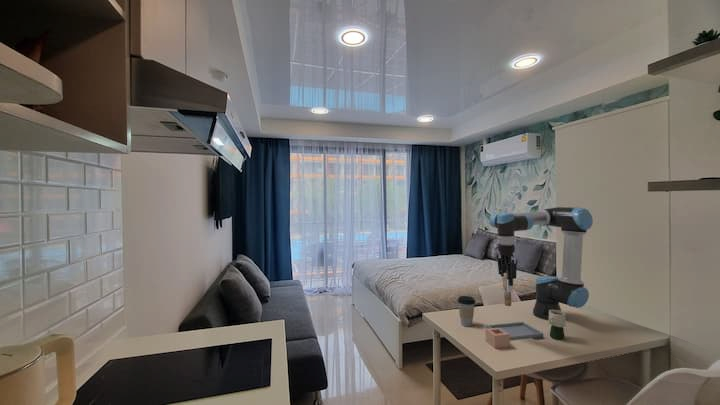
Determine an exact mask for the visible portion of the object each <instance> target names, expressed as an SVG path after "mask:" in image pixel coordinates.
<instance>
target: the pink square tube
mask: <svg viewBox="0 0 720 405" xmlns="http://www.w3.org/2000/svg"><path fill="white" fill-rule="evenodd" d="M485 342H486V343H488V344H489V345H490V346H491V347H493V349H494V350H495V349H503V348H510V347H511V345H510V343H511V341H510V334H508V333H507V332H506V331H504V330H503V329H501V328H490V329H487V328H485Z"/></svg>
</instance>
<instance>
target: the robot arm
mask: <svg viewBox="0 0 720 405" xmlns="http://www.w3.org/2000/svg"><path fill="white" fill-rule="evenodd" d="M489 217H490V218H489V225H490V226H491V227H492V228H495V229H497V243H498V244H497V251H498V252H499V254H496V259H497V260H496V261H497V270H498V274H499V275H500V276H501V282H502V283H501V284H502V290H503V291H504V273H507V275H508V278H507V292H511V293H512V292H514V280H515V279H517V269H518V268H517V267H518V266H517V265H518V259H517V258H514V253H515V251H516V250H515V249H516V248H515V247H516V246H515V243H516V242H515V232H519V231H520V232H521V231H528V230H531V229H532V228H533V226H542V227H545V226H546V227H547V226H548V227H549V226H550V227H556V228H560V231H561V233H562V234H563V246H562V248H563V250H562V251H563V252H562V267H561V268H562V270H561V277H557V276H552V275H542V276H538V277H536V280H535V304H534V306H533V309H532V315H534V316H535V317H537V318H540V319H544V320H547V321H549V310H559V311H562V308H561V306H560V304H563V305H567V306H569V307H573V308H576V309H578V308H580V309H581V308H582V307H584V306H585V305H586V304H587V302H588V301H589V297H590V292H589V290H588V288H586V287H585V286H584V285H585V282H584V281H583V280H582V263H583V262H582V259H583V258H582V257H583V242H584V235H586V234H587V232H588V231H587V230H590V229H591V228H592V226H593V221H594V220H593V216H592V214H591V212H590V211H589V210H588V209H586V208H585V207H577V206H576V207H570V206H569V207H566V206H564V207H563V206H562V207H559V206H557V207H550V208H545V209H538V210H537V211H529V212H519V213H518V212H517V213H512V212H500V213H496V214H495V213H494V214H492V215H491V216H489Z"/></svg>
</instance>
